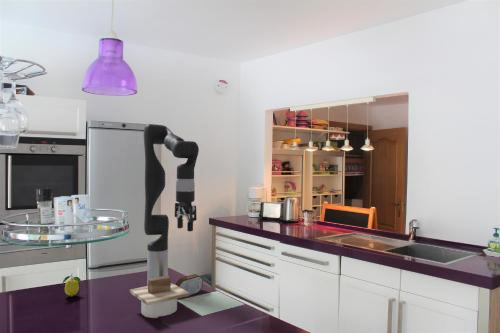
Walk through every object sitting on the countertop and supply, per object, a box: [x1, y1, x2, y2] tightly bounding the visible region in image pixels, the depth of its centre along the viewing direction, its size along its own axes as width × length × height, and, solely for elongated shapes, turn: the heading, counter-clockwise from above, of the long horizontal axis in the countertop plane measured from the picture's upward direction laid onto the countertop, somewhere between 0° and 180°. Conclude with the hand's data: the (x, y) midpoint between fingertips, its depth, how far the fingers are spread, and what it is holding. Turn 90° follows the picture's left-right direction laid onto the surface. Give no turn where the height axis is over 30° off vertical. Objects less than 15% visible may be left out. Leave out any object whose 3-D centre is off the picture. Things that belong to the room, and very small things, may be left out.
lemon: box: [61, 274, 82, 297], centre depth 167 cm, size 7×6×10 cm
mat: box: [177, 290, 245, 317], centre depth 160 cm, size 20×20×1 cm
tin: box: [174, 273, 204, 296], centre depth 170 cm, size 15×3×8 cm, turn 141°
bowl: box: [140, 299, 178, 319], centre depth 152 cm, size 13×13×6 cm
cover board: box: [129, 275, 191, 305], centre depth 152 cm, size 17×17×6 cm
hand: (185, 229), depth 161 cm, fingers open, 8 cm apart
